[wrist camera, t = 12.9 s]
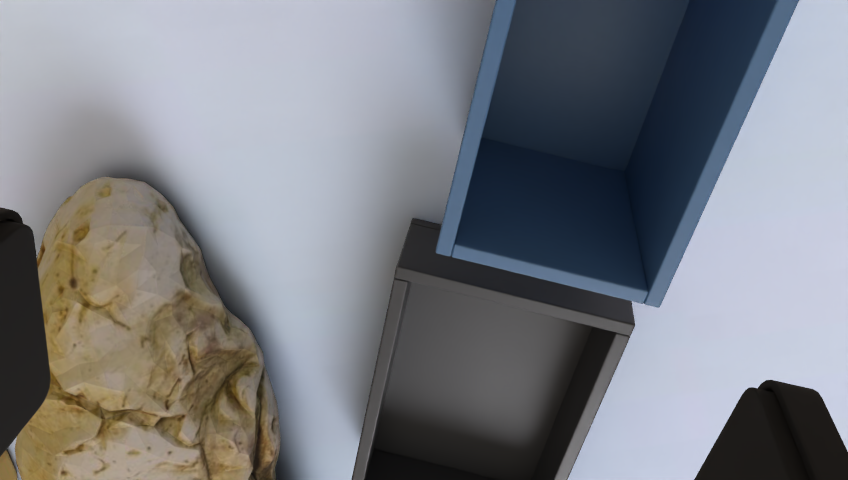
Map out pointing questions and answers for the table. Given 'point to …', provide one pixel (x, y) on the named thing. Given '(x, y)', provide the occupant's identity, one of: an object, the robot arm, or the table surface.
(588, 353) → the charcoal bin
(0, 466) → the hamburger
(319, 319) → the table surface
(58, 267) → the rock
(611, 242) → the blue bin
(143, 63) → the table surface
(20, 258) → the robot arm
